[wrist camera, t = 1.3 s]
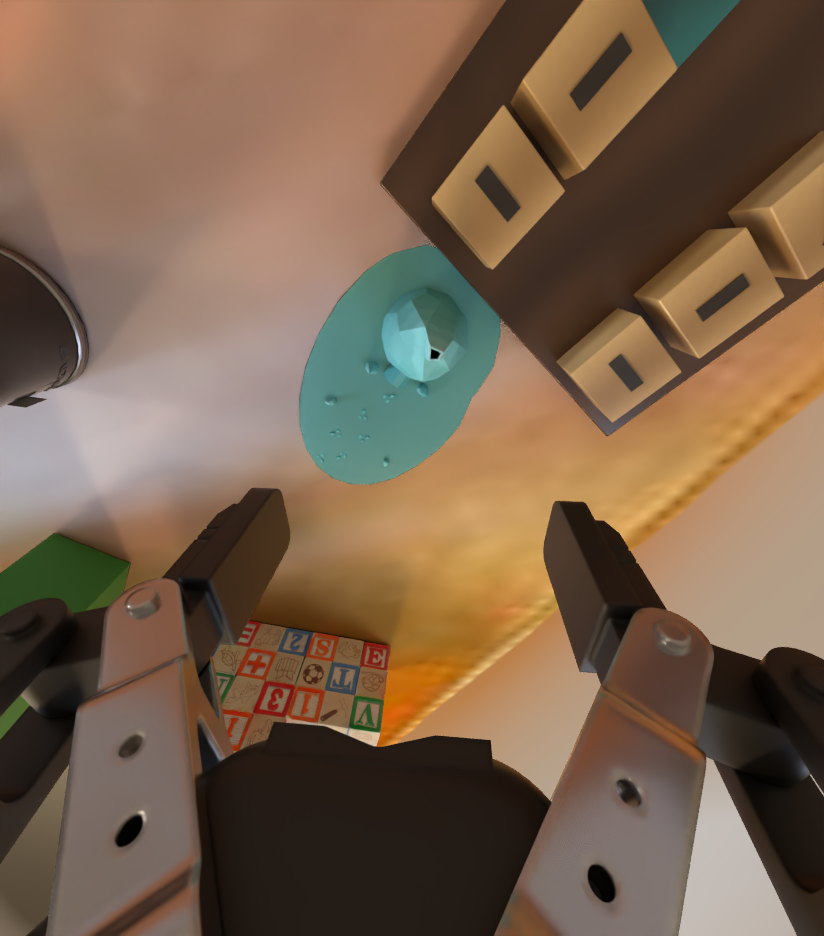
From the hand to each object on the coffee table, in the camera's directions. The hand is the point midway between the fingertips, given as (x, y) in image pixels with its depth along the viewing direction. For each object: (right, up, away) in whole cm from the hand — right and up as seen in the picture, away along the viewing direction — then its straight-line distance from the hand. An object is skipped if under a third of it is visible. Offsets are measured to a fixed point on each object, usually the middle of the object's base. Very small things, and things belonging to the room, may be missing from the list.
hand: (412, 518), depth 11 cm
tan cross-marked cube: (+20, +15, +9) cm, 27 cm away
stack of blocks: (-13, -19, +33) cm, 41 cm away
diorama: (-1, +8, +16) cm, 18 cm away
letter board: (+13, +17, +9) cm, 23 cm away
